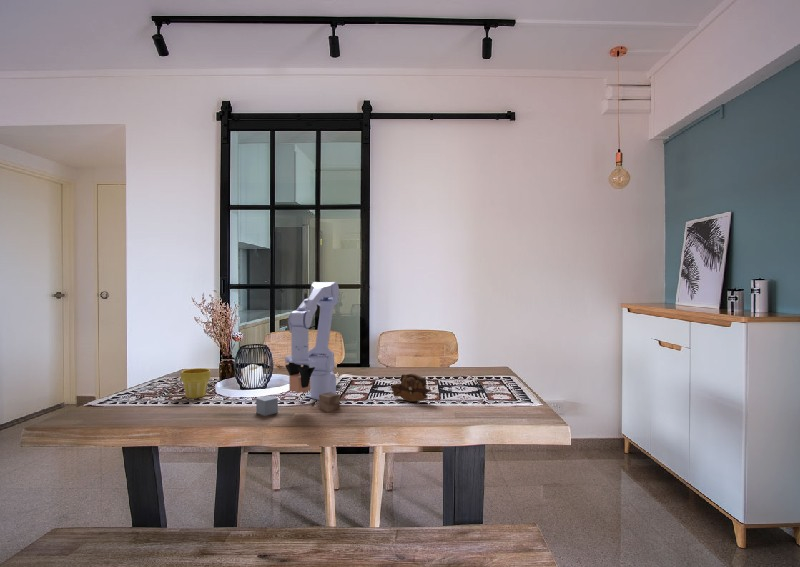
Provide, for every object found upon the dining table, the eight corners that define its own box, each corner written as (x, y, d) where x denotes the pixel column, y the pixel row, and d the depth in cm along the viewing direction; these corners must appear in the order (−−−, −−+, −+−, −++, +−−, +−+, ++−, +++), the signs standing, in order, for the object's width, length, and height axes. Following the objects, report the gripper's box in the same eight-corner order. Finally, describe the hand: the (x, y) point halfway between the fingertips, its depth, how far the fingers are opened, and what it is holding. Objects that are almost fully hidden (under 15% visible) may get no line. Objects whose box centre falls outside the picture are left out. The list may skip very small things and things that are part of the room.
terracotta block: (301, 387, 159) (301, 373, 159) (310, 389, 156) (310, 375, 156) (289, 390, 156) (289, 375, 156) (298, 392, 152) (298, 377, 152)
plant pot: (215, 393, 179) (215, 368, 179) (201, 400, 169) (201, 373, 168) (190, 392, 180) (190, 367, 180) (175, 399, 170) (175, 373, 169)
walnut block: (330, 406, 162) (330, 392, 162) (339, 408, 158) (339, 394, 158) (319, 409, 158) (319, 394, 158) (328, 411, 155) (328, 397, 154)
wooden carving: (388, 399, 170) (388, 373, 169) (394, 397, 174) (394, 370, 174) (428, 405, 162) (428, 377, 162) (433, 402, 166) (433, 375, 166)
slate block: (269, 410, 157) (269, 395, 157) (277, 412, 153) (277, 398, 153) (256, 413, 153) (256, 398, 153) (264, 416, 150) (264, 401, 150)
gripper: (277, 345, 157) (277, 384, 158) (303, 349, 148) (303, 391, 148) (294, 343, 163) (294, 381, 163) (320, 347, 153) (320, 387, 153)
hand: (300, 385), depth 156 cm, fingers closed on terracotta block, 5 cm apart
